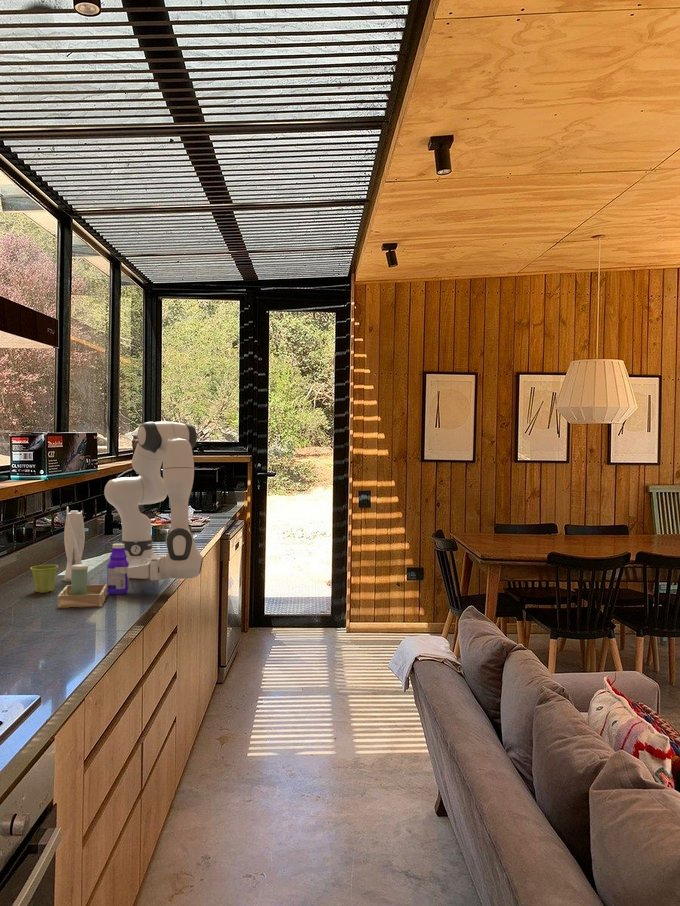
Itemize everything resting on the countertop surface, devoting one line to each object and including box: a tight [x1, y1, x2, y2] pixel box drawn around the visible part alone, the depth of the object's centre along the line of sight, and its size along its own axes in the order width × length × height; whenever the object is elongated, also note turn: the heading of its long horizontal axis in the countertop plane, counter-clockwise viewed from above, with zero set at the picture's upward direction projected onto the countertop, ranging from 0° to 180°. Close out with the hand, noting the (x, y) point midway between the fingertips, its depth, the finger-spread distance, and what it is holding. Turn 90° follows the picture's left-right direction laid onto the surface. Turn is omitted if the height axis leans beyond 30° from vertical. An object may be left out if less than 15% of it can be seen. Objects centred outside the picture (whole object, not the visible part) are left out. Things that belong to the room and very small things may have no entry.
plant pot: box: [29, 564, 59, 594], centre depth 278 cm, size 9×9×9 cm
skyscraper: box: [60, 506, 89, 582], centre depth 299 cm, size 8×8×28 cm
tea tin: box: [70, 563, 89, 595], centre depth 257 cm, size 5×5×12 cm
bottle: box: [106, 542, 130, 595], centre depth 274 cm, size 7×6×17 cm
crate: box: [57, 583, 109, 609], centre depth 261 cm, size 18×14×4 cm
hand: (115, 567), depth 274 cm, fingers closed on bottle, 6 cm apart
